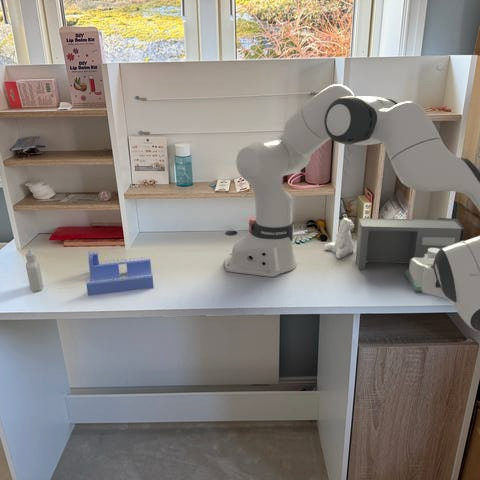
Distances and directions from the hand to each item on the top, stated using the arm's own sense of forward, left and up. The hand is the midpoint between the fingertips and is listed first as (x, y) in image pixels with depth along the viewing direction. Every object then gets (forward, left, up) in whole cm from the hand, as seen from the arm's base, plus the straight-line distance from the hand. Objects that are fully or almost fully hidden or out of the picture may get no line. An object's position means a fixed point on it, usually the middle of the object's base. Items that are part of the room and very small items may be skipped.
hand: (445, 257), depth 118 cm
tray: (0, +11, -13) cm, 17 cm away
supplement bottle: (0, +11, -12) cm, 16 cm away
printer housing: (-5, +23, -13) cm, 27 cm away
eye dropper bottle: (-112, -1, -13) cm, 112 cm away
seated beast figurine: (-23, +33, -13) cm, 42 cm away
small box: (+11, +35, -13) cm, 39 cm away
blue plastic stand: (-89, +6, -14) cm, 90 cm away
